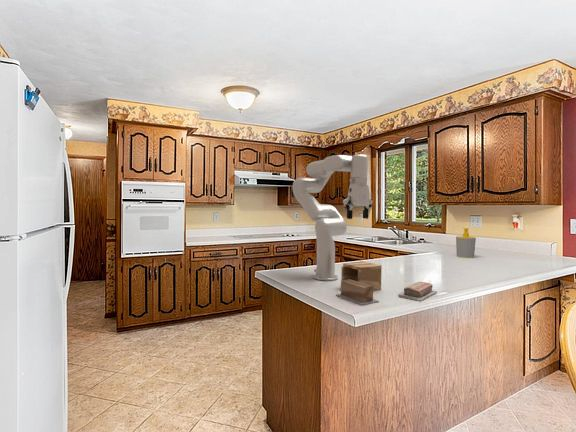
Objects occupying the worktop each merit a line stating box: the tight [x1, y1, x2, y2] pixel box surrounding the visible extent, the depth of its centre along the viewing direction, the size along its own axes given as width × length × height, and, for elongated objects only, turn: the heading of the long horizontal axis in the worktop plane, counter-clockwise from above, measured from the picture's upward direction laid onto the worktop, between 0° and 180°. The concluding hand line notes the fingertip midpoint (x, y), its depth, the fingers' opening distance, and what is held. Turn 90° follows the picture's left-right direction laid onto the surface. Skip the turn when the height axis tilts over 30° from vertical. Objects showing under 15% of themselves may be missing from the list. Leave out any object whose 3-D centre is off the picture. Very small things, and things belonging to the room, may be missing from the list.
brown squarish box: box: [340, 260, 383, 292], centre depth 161 cm, size 12×13×11 cm
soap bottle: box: [455, 227, 477, 259], centre depth 256 cm, size 13×13×21 cm
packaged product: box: [397, 281, 438, 302], centre depth 151 cm, size 18×5×10 cm
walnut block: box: [340, 279, 374, 303], centre depth 145 cm, size 5×14×6 cm, turn 31°
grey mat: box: [335, 293, 380, 306], centre depth 144 cm, size 16×9×1 cm, turn 31°
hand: (357, 218), depth 162 cm, fingers open, 9 cm apart
